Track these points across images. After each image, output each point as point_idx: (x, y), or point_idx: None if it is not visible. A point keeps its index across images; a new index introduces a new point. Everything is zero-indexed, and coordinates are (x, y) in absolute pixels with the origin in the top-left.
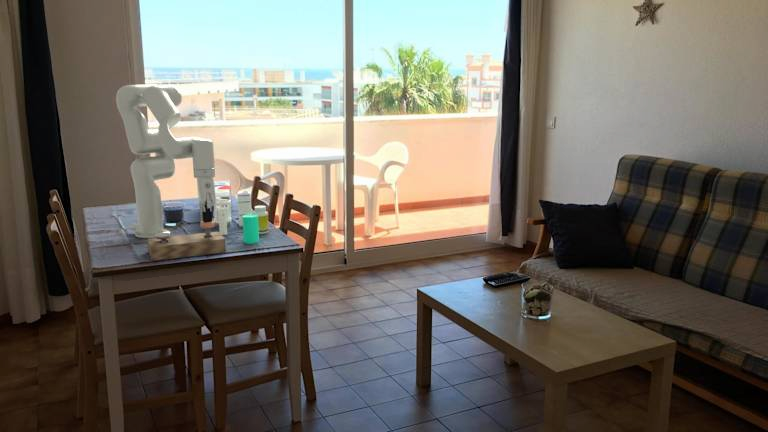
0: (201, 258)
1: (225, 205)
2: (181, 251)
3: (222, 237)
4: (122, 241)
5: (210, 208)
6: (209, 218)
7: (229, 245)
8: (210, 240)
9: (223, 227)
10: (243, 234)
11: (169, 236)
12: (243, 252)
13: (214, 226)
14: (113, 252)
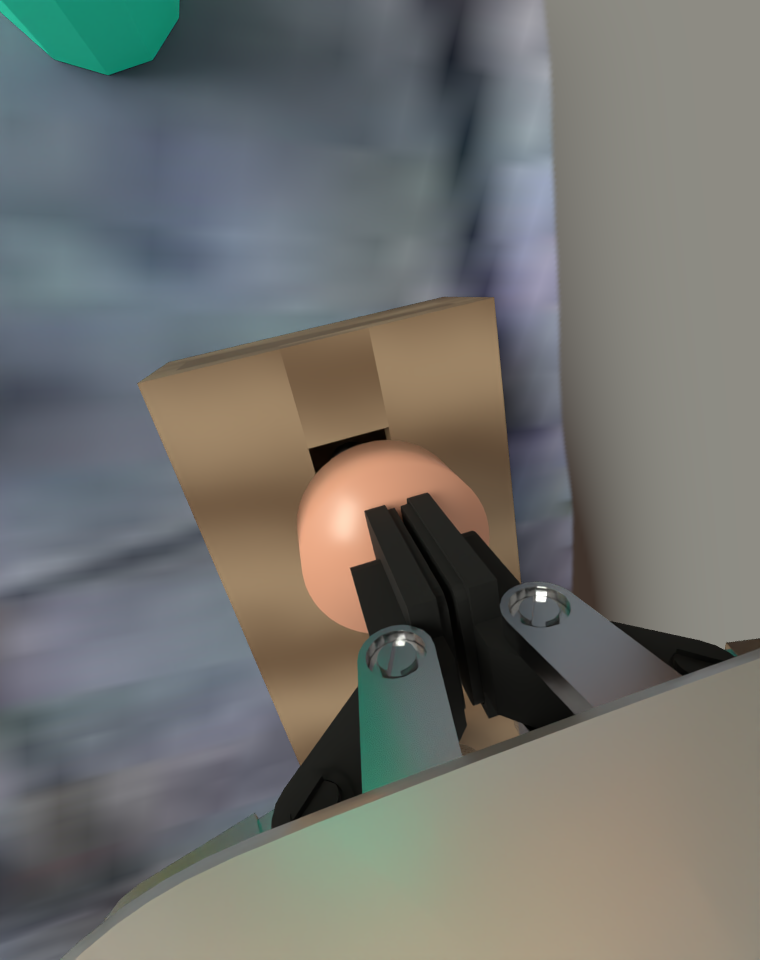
0: (548, 467)
1: None
2: None
3: (431, 327)
4: (60, 945)
5: (608, 637)
6: (480, 546)
7: (234, 258)
8: (506, 441)
9: None
10: (80, 20)
11: (465, 753)
12: (503, 127)
13: (388, 440)
14: None
